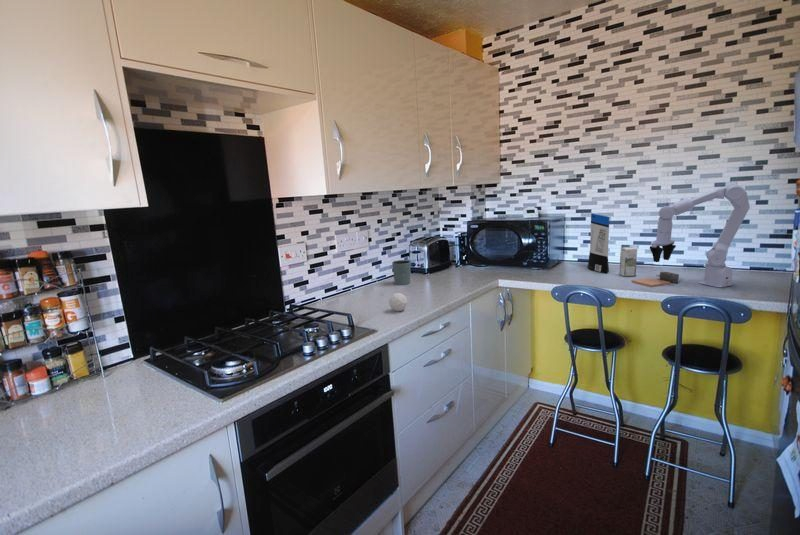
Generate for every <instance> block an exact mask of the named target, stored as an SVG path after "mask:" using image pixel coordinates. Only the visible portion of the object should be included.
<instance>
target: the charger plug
mask: <svg viewBox="0 0 800 535" xmlns="http://www.w3.org/2000/svg"><path fill="white" fill-rule="evenodd" d="M656 277H657V278H659V280H663V281H668V282H670V284H672V285H674V284H679V278H680V274H678V273H674V272H670V271H659V274H656Z"/></svg>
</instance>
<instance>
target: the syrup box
mask: <svg viewBox="0 0 800 535" xmlns="http://www.w3.org/2000/svg"><path fill="white" fill-rule="evenodd" d="M619 258H620V259H619V275H620V276H622V277H636V276H637V273H636V272H637V259H638V248H637V247H635V246H622V247H621V246H620V256H619Z"/></svg>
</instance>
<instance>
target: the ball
mask: <svg viewBox="0 0 800 535" xmlns="http://www.w3.org/2000/svg"><path fill="white" fill-rule="evenodd" d="M388 304H389V306H390V308H391V310H393V311H395V312H400V311H401V312H402V311H403V310H405V309H406V308H407V306H408V298H407V297H406V295H404V294H403V293H401V292H397V293H393V295H391V296H390V298H389V300H388Z"/></svg>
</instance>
